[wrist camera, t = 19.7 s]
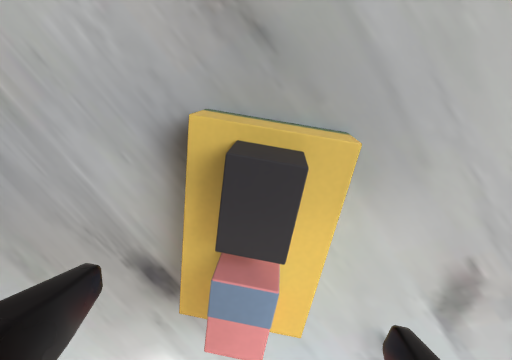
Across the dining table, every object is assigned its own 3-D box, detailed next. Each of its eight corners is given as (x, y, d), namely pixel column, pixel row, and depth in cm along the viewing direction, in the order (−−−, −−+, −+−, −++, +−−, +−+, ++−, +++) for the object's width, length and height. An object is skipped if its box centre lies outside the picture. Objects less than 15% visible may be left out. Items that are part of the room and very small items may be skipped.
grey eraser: (284, 235, 16) (285, 265, 14) (226, 224, 17) (214, 251, 14) (304, 151, 14) (309, 167, 12) (236, 139, 14) (225, 152, 12)
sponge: (298, 303, 23) (300, 338, 20) (193, 282, 23) (178, 313, 20) (348, 132, 17) (362, 143, 14) (205, 108, 17) (188, 114, 14)
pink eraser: (265, 324, 20) (262, 365, 17) (214, 313, 20) (203, 352, 17) (280, 258, 17) (279, 293, 14) (222, 247, 17) (210, 279, 14)
